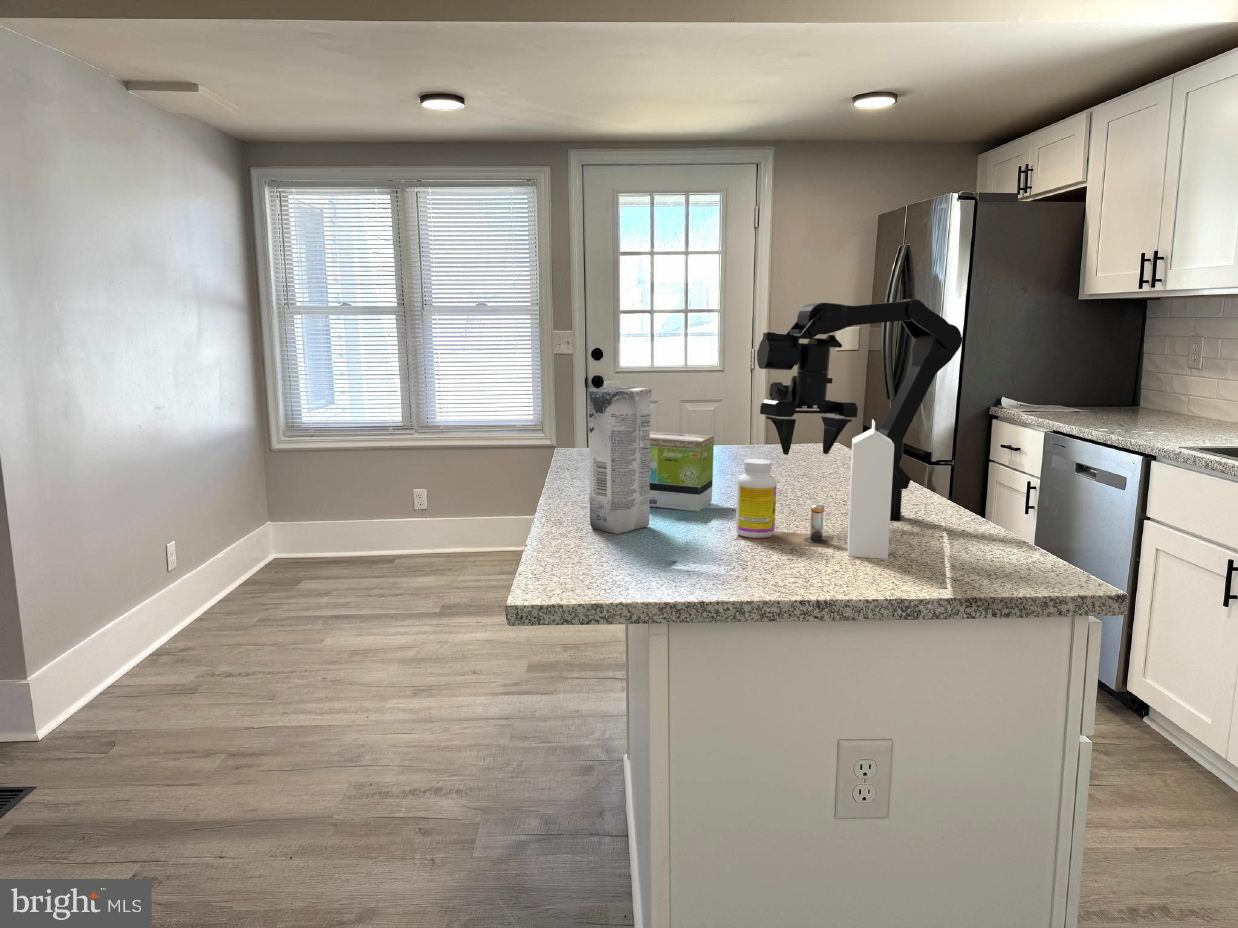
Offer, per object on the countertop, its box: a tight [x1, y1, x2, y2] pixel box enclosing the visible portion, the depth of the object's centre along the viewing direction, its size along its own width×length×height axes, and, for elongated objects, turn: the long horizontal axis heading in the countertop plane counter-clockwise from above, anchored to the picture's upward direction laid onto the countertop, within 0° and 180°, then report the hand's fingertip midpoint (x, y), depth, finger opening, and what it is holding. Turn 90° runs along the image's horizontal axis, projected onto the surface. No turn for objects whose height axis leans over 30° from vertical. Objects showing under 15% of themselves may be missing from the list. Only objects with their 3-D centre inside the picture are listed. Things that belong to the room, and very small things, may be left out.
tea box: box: [649, 431, 715, 513], centre depth 167 cm, size 15×10×15 cm, turn 68°
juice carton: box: [587, 380, 652, 535], centre depth 146 cm, size 9×10×27 cm
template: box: [734, 530, 835, 549], centre depth 137 cm, size 16×8×1 cm, turn 69°
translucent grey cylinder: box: [809, 503, 825, 542], centre depth 134 cm, size 2×2×6 cm
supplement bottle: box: [735, 458, 777, 538], centre depth 137 cm, size 7×7×13 cm
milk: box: [846, 419, 894, 560], centre depth 126 cm, size 6×6×22 cm
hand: (805, 454), depth 152 cm, fingers open, 9 cm apart
